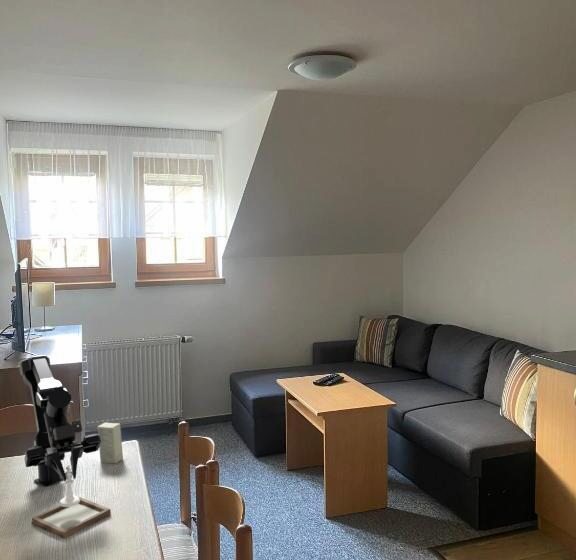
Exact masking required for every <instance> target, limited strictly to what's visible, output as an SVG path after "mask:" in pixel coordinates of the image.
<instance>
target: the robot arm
mask: <svg viewBox="0 0 576 560" xmlns="http://www.w3.org/2000/svg"><path fill="white" fill-rule="evenodd" d="M50 361H51V360H50V357H48V356H47V355H46V354H39V355H32V356H29V357H28V359H25V360H22V361H21V362H20V363H19V373H20V376H22V379H23V383H24V384H25V385H26V386H28V388H29V389H30V393H31V394H30V395H31V399H32V400H31V401H32V406H33V413H34V419H35V425H36V432H37V434H36V436H35V439H34V440H33V446H32V447H29V448H26V450H25V453H24V464H25V467H26V468H30V467H31V468H32V467H37V473H38V478H35V479H34V480H33V481H34V483H37V484H38V485H41V486H44V487H48V486H51V485H52V484H56V483H57V482H60V481H62V480H63V482H64V483H65V481H67V479H66V475H65V473H66V472H65V469H64V466H63V464H62V461H64V460H65V457H66V455H65V454H66V453H69V452H70V457H69V461H70V467H71V472H73V474H72V478H73V480H75V479H76V478H77V471H78V470H77V469H78V461H79V459H80V458H82V457H83V453H84V454H90V453H96V452H97V451H99V446H100V443H101V439H100V436H99V435H98V433H93V434H88V435H84V436H83V439H82V441H78V442H74V441H76V436H77V435H76V434H79V433H82V431H83V427H82V422H81V419H77V420H73V421H72V422H71V423H70V422H69V417H68V413H69V410H70V406H71V402H72V395H71V393H70V392H69V391H68V390H67V388H66V387H64V386H63V384H62V382H61V381H60V380H58V379H55V378H54V375H53V373H52V370H51V369H52V366H51V362H50Z"/></svg>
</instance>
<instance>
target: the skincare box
mask: <svg viewBox="0 0 576 560" xmlns="http://www.w3.org/2000/svg"><path fill="white" fill-rule="evenodd" d="M96 429H97V434H98V435H99V436H100V439H101V443H100V446H99V449H98V451H99V458H100V463H109V464H117V463H118V462H120V461H122V459H124V455H123V454H124V453H123V442H122V441H123V440H122V429H121V423H118V422H103V423H101V424H99V425H98V426H97V428H96Z"/></svg>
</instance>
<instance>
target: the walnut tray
mask: <svg viewBox="0 0 576 560" xmlns="http://www.w3.org/2000/svg"><path fill="white" fill-rule="evenodd" d="M78 497H79V500H80V502H79V503H78V504H77V505H74V506H71V507H63V506H61V505H60V504H58V505H56V506H55V507H52V508H49V509H48V510H46V511H43V512H42V513H38V514H37V515H35V516H33V517H31V525H33V526H36V527H38V528H40V529H43V530H44V531H47V532H48V533H51V534H52V535H55V536H58V537H60V538H62V539H64V540H65V539H67V538H69V537H70V536H73V535H75V534H76V533H79V532H81V531H82V530H84V529H86V528H89V527H90V526H92V525H94V524H96V523H98V522H100V521H102V520H104V519H105V518H107V517H109V516H111V514H112V513H111V508H109V507H106V506H103V505H101V504H99V503H96V502H94V501H91V500H89V499H85V498H83V497H81V496H78Z"/></svg>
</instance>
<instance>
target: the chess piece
mask: <svg viewBox="0 0 576 560" xmlns="http://www.w3.org/2000/svg"><path fill="white" fill-rule="evenodd" d="M70 467H71V465H67V466H66V467H65V470H66V472H65V475H66V481H65V482H64V484H65V485H66V494H65V497H63V498H61V499H60V501H59V502H60V503H59V505H61V506H63V507H71V506H74V505H77V504H78V503H79V502H80V500H79V497H80V496H79V495H75V494H74V492H73V489H72V488H73V487H72V484H73V483H74V479H72V478H73V475H72V474H73V472H72V469H71V468H70Z"/></svg>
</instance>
